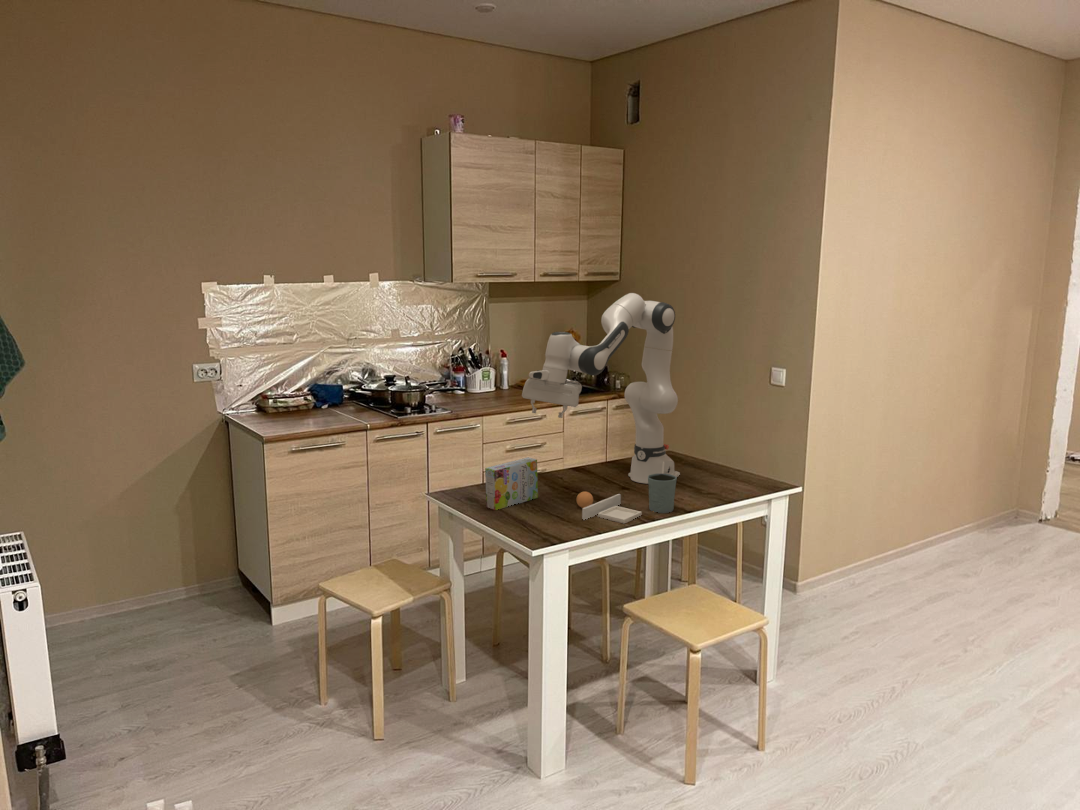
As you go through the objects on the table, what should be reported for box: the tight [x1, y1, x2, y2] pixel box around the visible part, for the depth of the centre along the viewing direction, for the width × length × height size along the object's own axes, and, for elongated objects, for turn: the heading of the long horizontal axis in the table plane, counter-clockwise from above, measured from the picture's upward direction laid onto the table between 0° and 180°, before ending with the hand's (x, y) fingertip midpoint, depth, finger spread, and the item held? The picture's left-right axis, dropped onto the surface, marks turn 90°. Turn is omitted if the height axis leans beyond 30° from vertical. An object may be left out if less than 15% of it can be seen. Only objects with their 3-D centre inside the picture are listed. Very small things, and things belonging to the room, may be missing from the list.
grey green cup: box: [647, 474, 678, 514], centre depth 286 cm, size 10×10×12 cm
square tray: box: [597, 505, 643, 525], centre depth 280 cm, size 11×11×1 cm
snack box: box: [484, 457, 539, 511], centre depth 294 cm, size 21×6×15 cm, turn 134°
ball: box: [575, 490, 594, 509], centre depth 289 cm, size 6×6×6 cm
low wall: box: [581, 493, 622, 521], centre depth 284 cm, size 22×1×4 cm, turn 141°
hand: (547, 415), depth 286 cm, fingers open, 8 cm apart
